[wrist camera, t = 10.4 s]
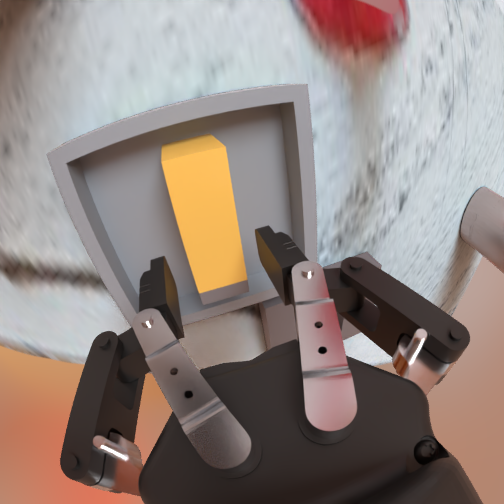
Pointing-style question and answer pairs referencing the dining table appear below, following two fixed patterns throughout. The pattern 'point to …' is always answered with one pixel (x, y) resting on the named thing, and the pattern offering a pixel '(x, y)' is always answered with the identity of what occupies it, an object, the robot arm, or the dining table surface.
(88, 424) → the robot arm
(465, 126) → the dining table surface
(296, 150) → the grey tray
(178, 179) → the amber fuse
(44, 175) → the dining table surface
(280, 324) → the socket plate
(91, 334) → the dining table surface
